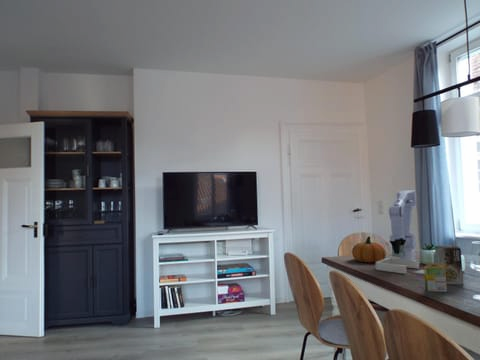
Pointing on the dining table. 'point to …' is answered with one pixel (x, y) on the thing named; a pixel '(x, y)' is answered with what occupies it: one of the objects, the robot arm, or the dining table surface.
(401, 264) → the open side box
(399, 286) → the dining table surface
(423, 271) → the grey pad
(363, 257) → the pumpkin
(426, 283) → the crayon box
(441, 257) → the coffee box
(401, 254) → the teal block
